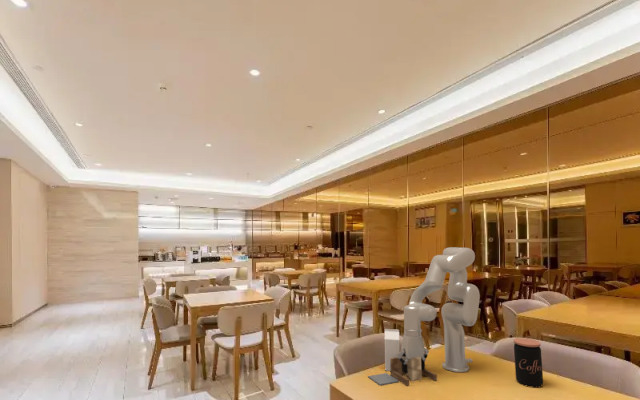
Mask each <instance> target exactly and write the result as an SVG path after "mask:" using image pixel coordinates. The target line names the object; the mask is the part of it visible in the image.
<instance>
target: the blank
mask: <svg viewBox="0 0 640 400" xmlns="http://www.w3.org/2000/svg"><path fill="white" fill-rule="evenodd" d="M406 364H407V367H408V373H406V374H405V378H407V379H409V381H410V382H411V381H412V382H418V381H422V379H423V378H422V377H423V376H422V375H423V374H422V373H421V357H415V358H412V359H410V360H408V361H407V363H406Z"/></svg>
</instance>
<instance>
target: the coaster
mask: <svg viewBox="0 0 640 400" xmlns="http://www.w3.org/2000/svg"><path fill="white" fill-rule="evenodd" d="M367 378H368V379H370V380H371V381H373V383H376V385H378V386H386V385H392V384H396V383H399V382H400V381H398V380H397V379H395V378H393V377H392V376H391V374H390V373H387V372H384V373H378V374H374V375H368V376H367Z"/></svg>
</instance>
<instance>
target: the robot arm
mask: <svg viewBox="0 0 640 400" xmlns="http://www.w3.org/2000/svg"><path fill="white" fill-rule="evenodd" d="M475 254H476V253H475V252H474V250H473V249H471V248H469V247H455V246H453V247H446V248H444V249H443V251H442V254H436V255H434V256H433V257H432V259H431V261H430V264H429V268H428V271H427V272H426V276H425V279H424V281H423V282H422V283H421V284H420V285H419V286H418V287H417V288H416V289H415V290H414V291H413V293H412V294H411V297H410V299H409V302H408V304H407V305H405V306H404V307H403V323H404V324H403V327H404V328H403V329H404V332H403V333H404V334H403V336H402V339H401V349H400V352H399V353H398V354H397V356H398V358H399V360H400V361H401V363H402V371H403V372H404V373H408V367H407V364H406V363H407V361H408V360H410V359H412V358H415V357H421V369H422V370H425V369H426V367H425V364H426V361H427V358H428V355H429V352H430V350H429V349H427V348H425V347H424V346H425V345H424V341H423V336H422V332H423V329H421V325H422V322H432V321H434V320H435V319H436V318H437V315H438V313H437V310H436V308H435V306H433V305H430V304H427V303H423V300H424V299H425V298H426V296H428V295H430V294H431V293H435V292H437V291H439V290H441V289H442V287H443V284H444V281H445V279H446V276H447V273H449V278H448V279H449V281H448V284H447V285H448V286H447V296H448V298H449V299H450V300H451V301H455V302H446V303H444V304H443V305H442V307H441V311H440V312H441V318H442V322H443V333H444V334H443V335H444V338H443V339H444V360H445V361H444V362H442V364H441V367H442V368H443V369H444V370H447V371H450V372H455V373H466V372H468V371H469V370H470V366H469V365H468V363H469V364H471V363H473V359H472V358H470V357H469V358H467V357H466V347H465V345H466V343H465V330H464V327H463V326H465V327H472V326H475V324H476V322H477V320H478V314H479V305H480V290H479V288H478V286H476V285H475V284H472V283H468V272H467V268H468V267H469V266H470V265H472V264H473V263H474V262H475V259H476V255H475ZM456 302H461V303H463V304H460V303H456ZM401 356H402V357H403V358H402V357H401ZM405 358H406V359H405ZM404 360H405V361H404Z"/></svg>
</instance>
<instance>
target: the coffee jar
mask: <svg viewBox="0 0 640 400" xmlns="http://www.w3.org/2000/svg"><path fill="white" fill-rule="evenodd" d="M513 343H514V344H513V352H514V353H513V354H514V370H515V380H516V381H517V383H519V384H520V385H522V384H523V385H522V386H524V385H527V386H526V387H528V386H533V387H532V388H540V387H539V386H541V385H542V386H543V384H544V377H543V376H544V375H543V361H542V360H543V359H542V349H541V342H539V341H537V340H536V339H535V340H534V339H532V338H523V337H522V338H519V337H517V338H514V339H513ZM542 386H541V387H542Z"/></svg>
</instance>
